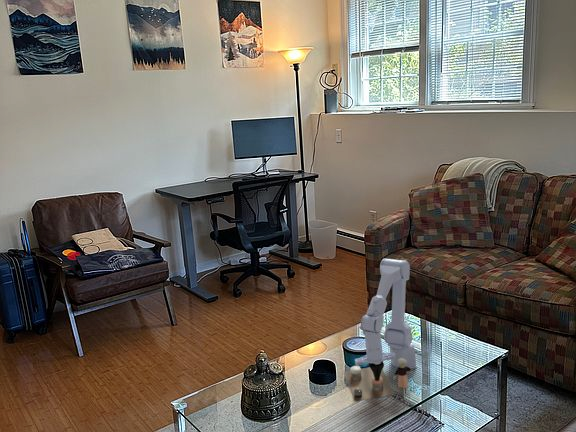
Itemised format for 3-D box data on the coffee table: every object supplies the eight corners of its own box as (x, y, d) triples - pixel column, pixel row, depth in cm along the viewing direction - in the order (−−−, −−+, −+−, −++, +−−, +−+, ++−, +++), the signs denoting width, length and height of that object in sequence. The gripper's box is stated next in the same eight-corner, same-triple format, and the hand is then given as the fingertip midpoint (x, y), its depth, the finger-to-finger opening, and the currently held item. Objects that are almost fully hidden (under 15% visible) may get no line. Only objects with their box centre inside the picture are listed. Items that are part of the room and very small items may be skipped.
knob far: (360, 373, 212) (359, 365, 211) (362, 378, 208) (361, 370, 207) (350, 374, 212) (349, 366, 211) (352, 380, 208) (351, 372, 207)
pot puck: (356, 392, 201) (355, 385, 200) (363, 393, 199) (362, 387, 198) (353, 396, 198) (352, 389, 197) (360, 398, 197) (359, 391, 196)
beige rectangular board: (380, 368, 217) (379, 359, 215) (395, 397, 197) (394, 387, 196) (343, 375, 215) (342, 366, 214) (355, 404, 196) (354, 395, 195)
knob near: (381, 383, 204) (380, 375, 203) (384, 389, 200) (383, 381, 199) (371, 385, 204) (370, 377, 203) (374, 391, 200) (373, 382, 199)
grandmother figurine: (399, 395, 198) (396, 364, 195) (392, 390, 202) (390, 360, 198) (416, 387, 202) (413, 357, 198) (409, 382, 205) (406, 352, 202)
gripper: (356, 355, 193) (360, 388, 196) (396, 348, 194) (399, 381, 198) (352, 345, 200) (355, 378, 203) (390, 338, 201) (393, 371, 204)
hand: (377, 379), depth 201 cm, fingers closed, pressing on knob near
